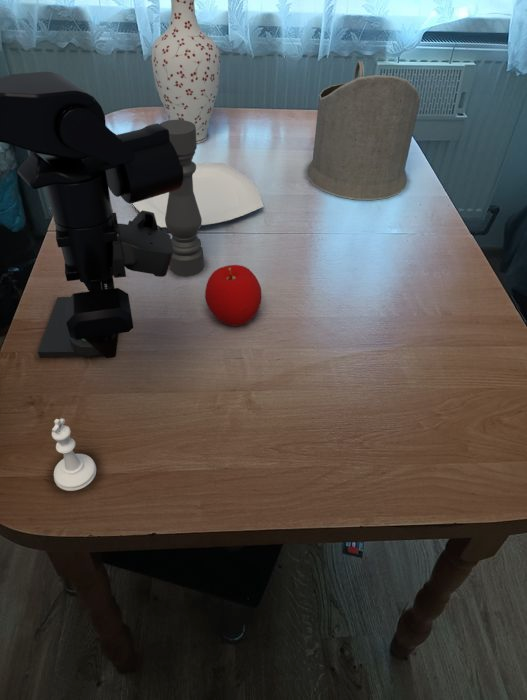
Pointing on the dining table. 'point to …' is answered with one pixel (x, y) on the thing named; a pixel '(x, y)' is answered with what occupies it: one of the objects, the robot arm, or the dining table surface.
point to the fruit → (233, 294)
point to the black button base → (63, 337)
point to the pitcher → (364, 136)
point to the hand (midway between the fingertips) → (108, 330)
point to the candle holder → (184, 204)
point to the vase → (186, 69)
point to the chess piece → (71, 461)
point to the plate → (212, 195)
